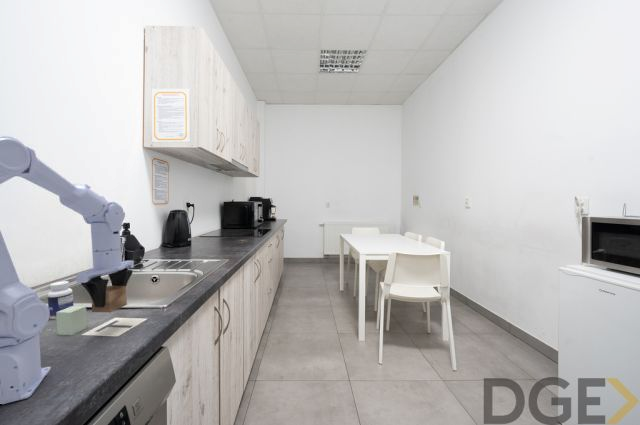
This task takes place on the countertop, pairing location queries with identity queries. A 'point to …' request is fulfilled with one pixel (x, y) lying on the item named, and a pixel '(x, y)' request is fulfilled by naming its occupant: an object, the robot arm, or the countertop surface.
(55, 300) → the pill bottle
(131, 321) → the letter card
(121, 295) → the walnut block
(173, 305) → the countertop surface
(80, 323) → the sage pillar
